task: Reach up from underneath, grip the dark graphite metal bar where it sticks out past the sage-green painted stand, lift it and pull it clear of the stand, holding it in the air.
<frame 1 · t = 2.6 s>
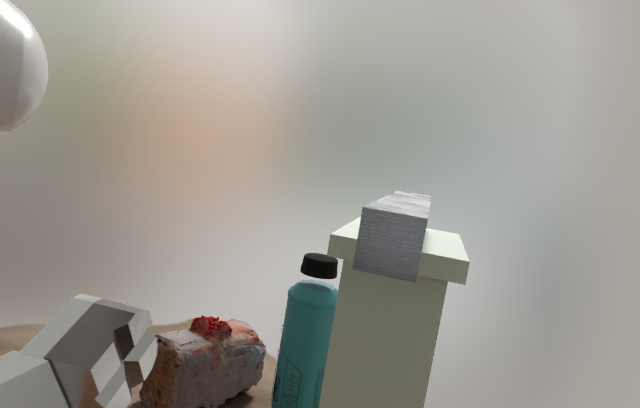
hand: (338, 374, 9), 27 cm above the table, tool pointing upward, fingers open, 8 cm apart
graphite bar: (400, 243, 33), point 26 cm above the table, touching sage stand
food item: (201, 398, 59), on the table
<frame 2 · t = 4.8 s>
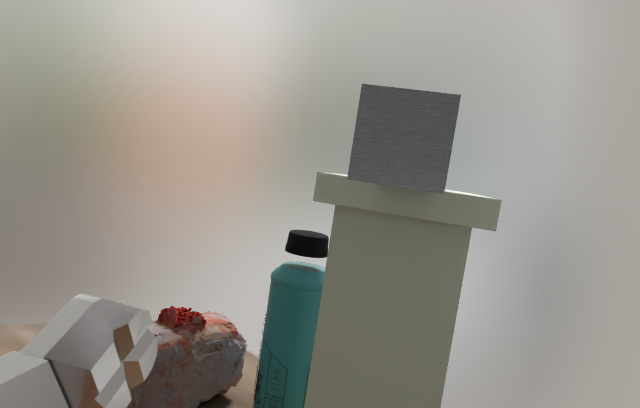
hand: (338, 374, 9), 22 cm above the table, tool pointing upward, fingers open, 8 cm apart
graphite bar: (407, 185, 26), point 26 cm above the table, touching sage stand
food item: (171, 402, 51), on the table
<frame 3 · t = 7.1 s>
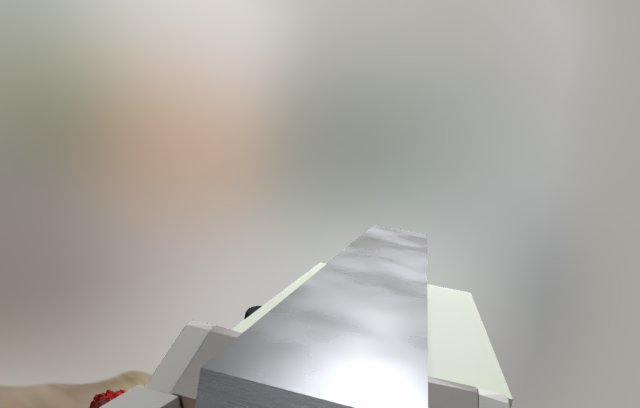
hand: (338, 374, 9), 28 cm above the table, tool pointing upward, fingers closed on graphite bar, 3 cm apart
graphite bar: (369, 342, 17), point 26 cm above the table, touching gripper, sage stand
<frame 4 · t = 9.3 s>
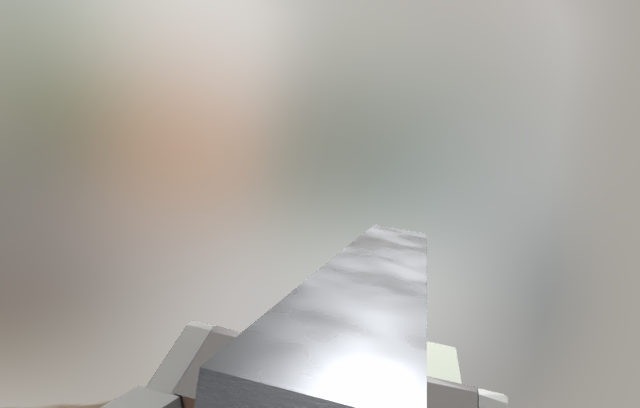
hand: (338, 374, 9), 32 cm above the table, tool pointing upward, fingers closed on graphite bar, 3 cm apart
graphite bar: (369, 342, 17), point 30 cm above the table, touching gripper
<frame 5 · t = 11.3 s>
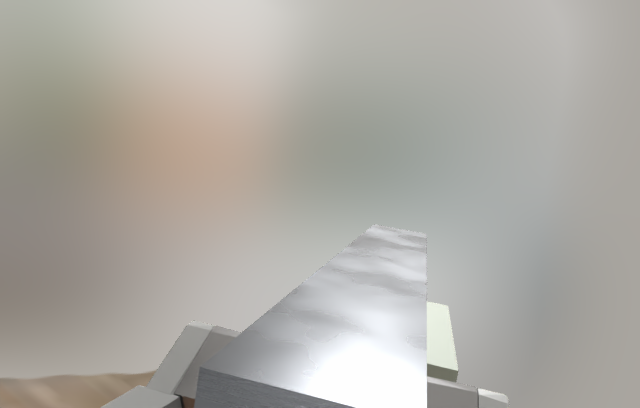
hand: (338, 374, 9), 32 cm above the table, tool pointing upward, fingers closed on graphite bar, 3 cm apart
graphite bar: (369, 342, 17), point 30 cm above the table, touching gripper
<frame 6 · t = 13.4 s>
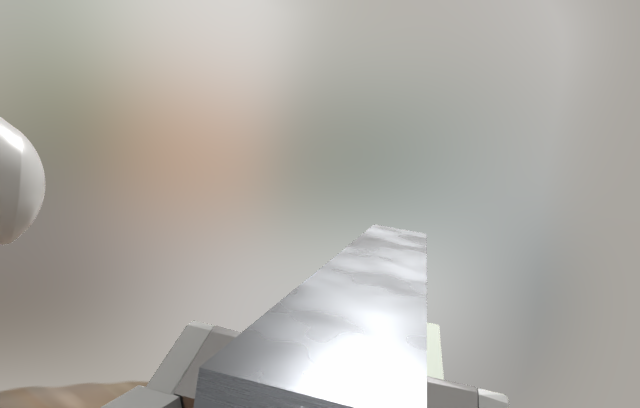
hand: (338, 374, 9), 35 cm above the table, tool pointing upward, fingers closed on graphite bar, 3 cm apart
graphite bar: (369, 342, 17), point 33 cm above the table, touching gripper
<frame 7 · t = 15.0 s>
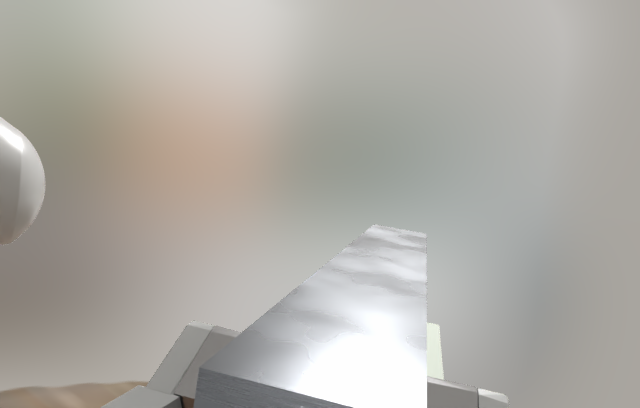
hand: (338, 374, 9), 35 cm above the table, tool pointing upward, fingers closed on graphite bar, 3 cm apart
graphite bar: (369, 342, 17), point 33 cm above the table, touching gripper
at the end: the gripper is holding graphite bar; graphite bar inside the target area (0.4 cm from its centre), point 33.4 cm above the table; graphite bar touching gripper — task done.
